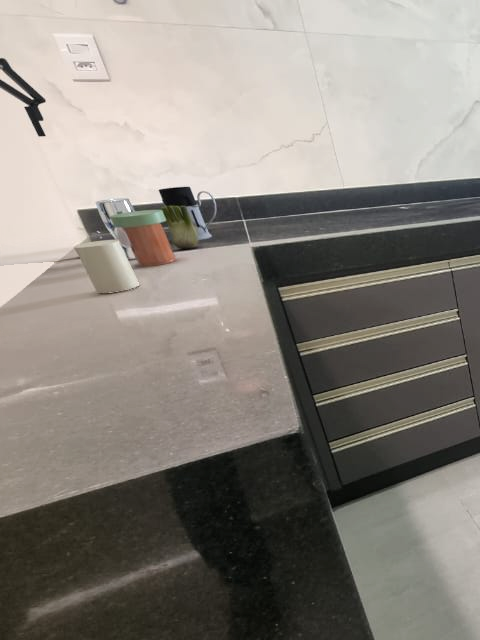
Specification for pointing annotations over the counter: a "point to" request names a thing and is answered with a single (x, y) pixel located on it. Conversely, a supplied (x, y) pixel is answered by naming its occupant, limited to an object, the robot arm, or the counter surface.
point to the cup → (149, 244)
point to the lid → (138, 218)
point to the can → (107, 266)
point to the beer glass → (105, 211)
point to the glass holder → (188, 207)
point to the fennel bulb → (180, 227)
